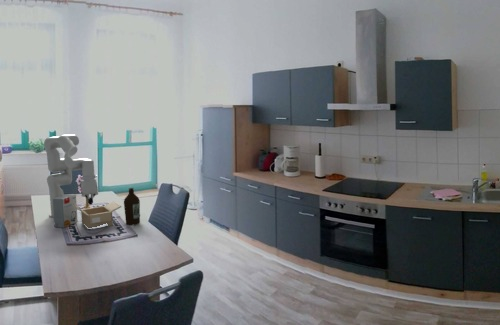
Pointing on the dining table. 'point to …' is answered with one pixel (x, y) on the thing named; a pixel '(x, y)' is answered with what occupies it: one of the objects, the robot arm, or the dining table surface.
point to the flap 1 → (80, 209)
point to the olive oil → (132, 208)
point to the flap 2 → (113, 206)
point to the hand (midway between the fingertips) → (90, 204)
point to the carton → (97, 217)
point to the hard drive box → (64, 210)
